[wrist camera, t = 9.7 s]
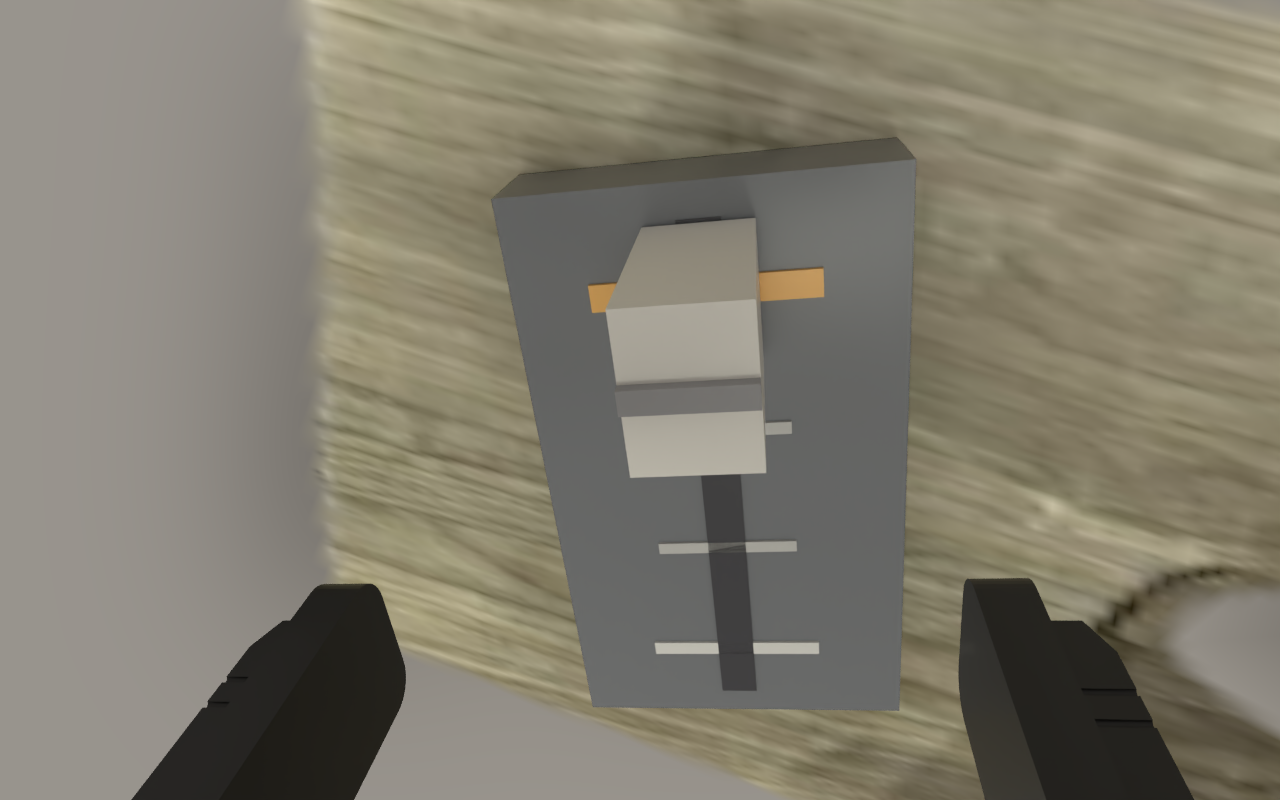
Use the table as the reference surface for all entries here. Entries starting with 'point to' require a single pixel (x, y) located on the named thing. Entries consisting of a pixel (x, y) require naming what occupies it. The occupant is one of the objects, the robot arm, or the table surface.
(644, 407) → the fader
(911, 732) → the table surface
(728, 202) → the console
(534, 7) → the table surface
